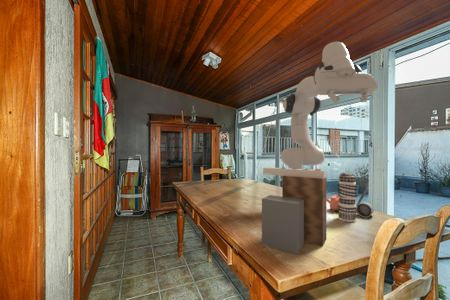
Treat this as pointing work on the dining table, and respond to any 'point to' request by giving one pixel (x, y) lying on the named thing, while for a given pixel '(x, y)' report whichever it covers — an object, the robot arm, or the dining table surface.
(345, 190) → the decorative candle
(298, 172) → the power strip
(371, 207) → the ceramic mug
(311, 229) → the walnut post
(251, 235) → the dining table surface
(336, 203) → the teapot
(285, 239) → the dark grey block
